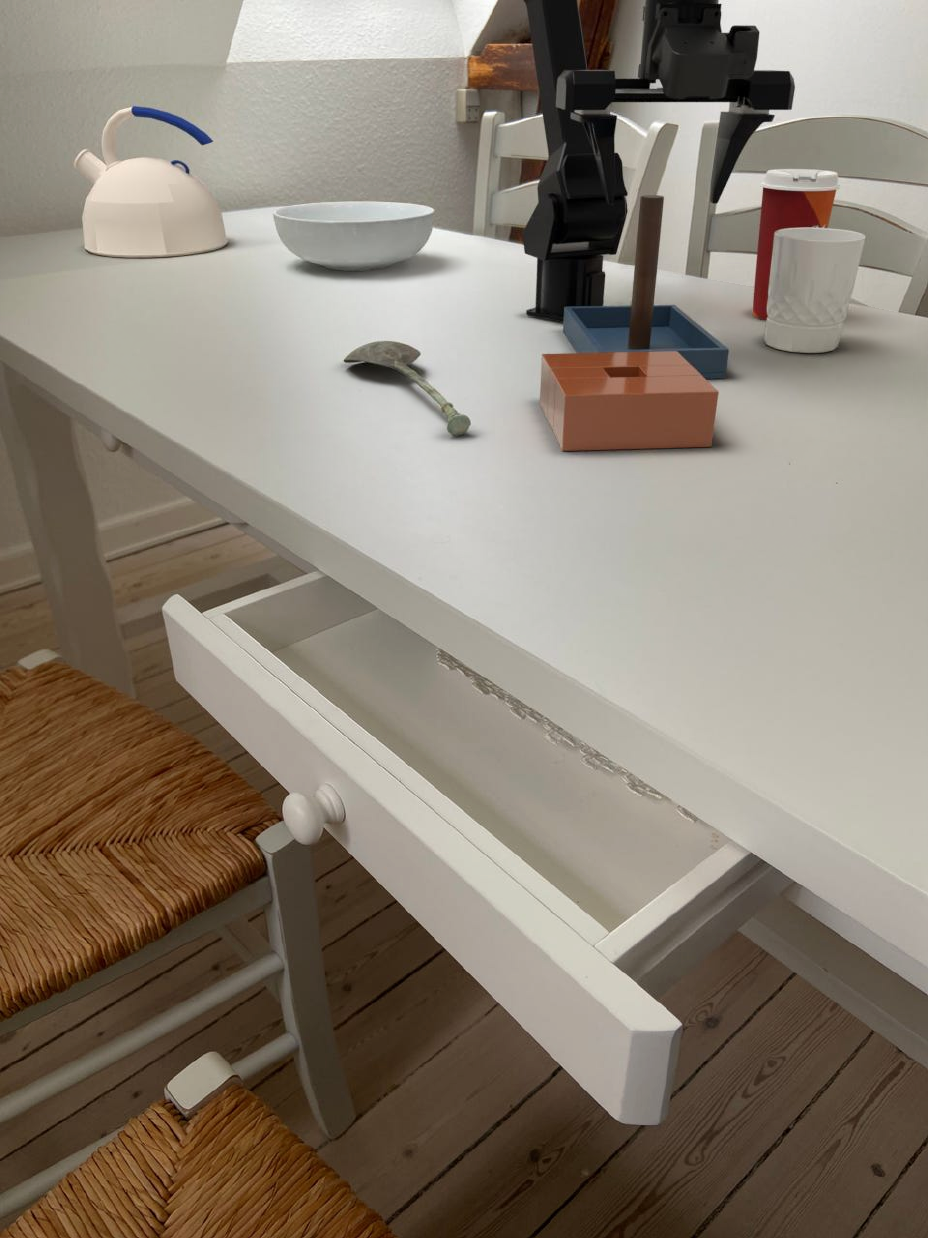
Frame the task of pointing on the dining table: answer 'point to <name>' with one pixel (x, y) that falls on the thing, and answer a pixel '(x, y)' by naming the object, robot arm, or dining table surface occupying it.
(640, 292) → the walnut stick
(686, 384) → the stick holder base
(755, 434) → the dining table surface
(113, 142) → the kettle
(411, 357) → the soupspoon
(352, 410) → the dining table surface
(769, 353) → the dining table surface
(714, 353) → the tray
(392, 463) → the dining table surface
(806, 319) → the white cup
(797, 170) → the paper cup
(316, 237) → the serving bowl
